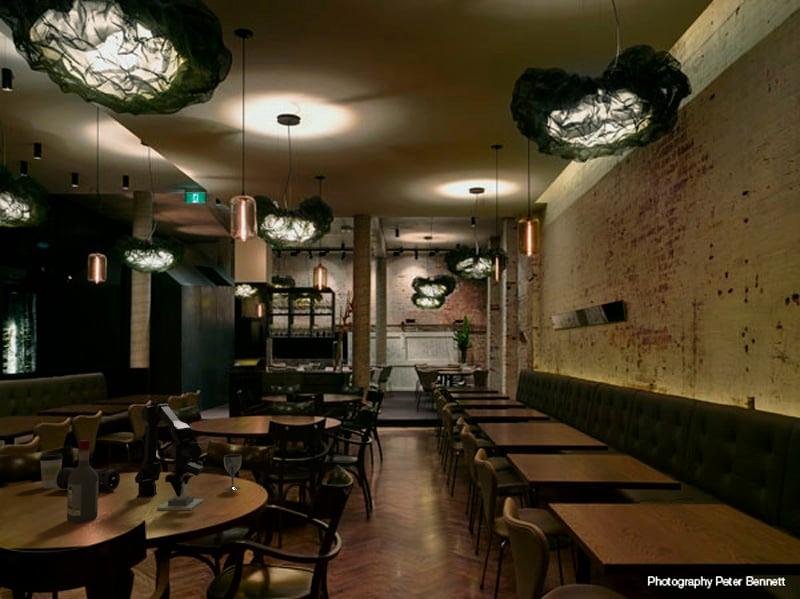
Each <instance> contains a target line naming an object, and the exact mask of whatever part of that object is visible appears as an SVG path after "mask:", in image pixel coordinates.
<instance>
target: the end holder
mask: <svg viewBox="0 0 800 599" xmlns="http://www.w3.org/2000/svg"><path fill="white" fill-rule="evenodd" d="M194 497H195V496H194V495H187V499H185V500H175V496H174V497H171V498H170V499H169V500H167V501H166V502H164V503H162V504H161V505H159V506H157V507H156V510H157V511H192V510H194V509H195V508H196V507H198V506H200V505H201V504H202V503H204V502H203V501H205V499H204V498H194ZM200 503H201V504H200ZM193 508H194V509H193Z"/></svg>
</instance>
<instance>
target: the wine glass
mask: <svg viewBox="0 0 800 599" xmlns="http://www.w3.org/2000/svg"><path fill="white" fill-rule="evenodd" d="M242 458H243V456H242V454H237V453H236V454H235V453H233V454H232V453H231V454H226V455H224V456H223V463H224V468H225V470H226V471H227V473H229V475H230V478H231V485H230V486H228V487H225V488H224V490H225V491H229V492H230V491H238V490H240V489H241V486H235V485H234V479H235V475H236V473H237V472H238V471H239V470H240V468H241V466H242Z"/></svg>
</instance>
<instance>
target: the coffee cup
mask: <svg viewBox="0 0 800 599" xmlns="http://www.w3.org/2000/svg"><path fill="white" fill-rule="evenodd" d="M63 459H64V456H63V454H62V452H61V453H60V452H53V453H52V452H51V453H45V454H41V456H40V458H39V461H40V473H41V480H42V489H53V488H54V489H55V488H58V487H57V486H56V485H55V483H54V477H55V474H56V473H57V471H58V470H60V469H62V466H63V465H62V462H63Z"/></svg>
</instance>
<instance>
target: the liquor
mask: <svg viewBox="0 0 800 599" xmlns="http://www.w3.org/2000/svg"><path fill="white" fill-rule="evenodd" d="M90 442H91V441H90V439H81V440H79V442H78V464H77V466H76V467H75V470H74V471H73V472H72V473H71V474H70V475H69V478H68V489H67V501H66V502H67V504H66V519H67V522H70V523H72V524H83V523H87V522H92V521H94V520H96V519H97V517H98V513H99V512H98V510H99V508H98V507H99V492H98V479H99V476H98V474H97V472H96V471H95V470H94V468H93V467H92V465H90V447H91V446H90Z"/></svg>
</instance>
